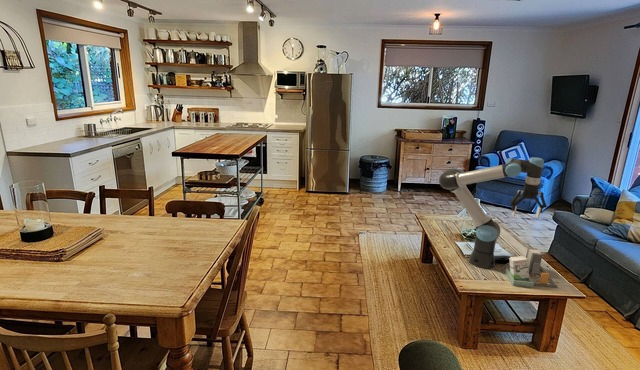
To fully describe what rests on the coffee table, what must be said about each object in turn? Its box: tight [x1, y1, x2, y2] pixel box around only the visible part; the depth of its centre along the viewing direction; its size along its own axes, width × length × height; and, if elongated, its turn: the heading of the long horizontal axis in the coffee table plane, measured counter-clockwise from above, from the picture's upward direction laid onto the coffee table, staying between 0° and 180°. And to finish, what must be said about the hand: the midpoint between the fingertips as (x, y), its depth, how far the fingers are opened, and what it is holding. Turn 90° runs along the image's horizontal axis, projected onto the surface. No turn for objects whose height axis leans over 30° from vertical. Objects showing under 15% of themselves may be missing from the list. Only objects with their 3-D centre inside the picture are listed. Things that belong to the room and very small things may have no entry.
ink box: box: [508, 255, 530, 279], centre depth 210 cm, size 9×5×12 cm, turn 87°
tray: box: [504, 267, 535, 288], centre depth 212 cm, size 11×15×3 cm
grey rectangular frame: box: [529, 263, 558, 288], centre depth 218 cm, size 14×28×7 cm, turn 170°
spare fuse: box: [525, 247, 543, 273], centre depth 223 cm, size 5×9×12 cm, turn 170°
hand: (525, 216), depth 223 cm, fingers open, 13 cm apart
